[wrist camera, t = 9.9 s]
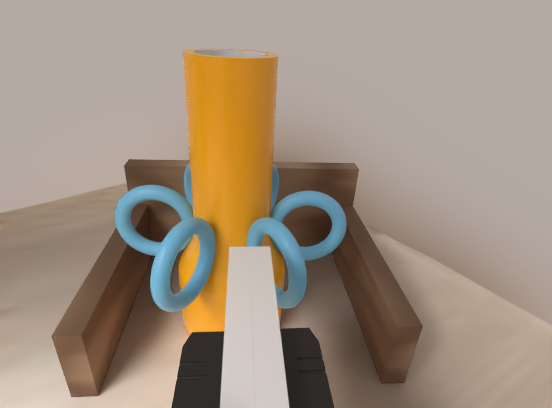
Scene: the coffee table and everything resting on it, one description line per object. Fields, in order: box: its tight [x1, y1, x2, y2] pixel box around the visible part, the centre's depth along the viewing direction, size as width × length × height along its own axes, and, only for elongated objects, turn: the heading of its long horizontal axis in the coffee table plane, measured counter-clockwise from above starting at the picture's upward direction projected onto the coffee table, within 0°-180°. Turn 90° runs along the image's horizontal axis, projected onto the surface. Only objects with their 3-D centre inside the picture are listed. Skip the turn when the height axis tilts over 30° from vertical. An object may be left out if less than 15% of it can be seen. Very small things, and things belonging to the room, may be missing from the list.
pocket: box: [52, 159, 422, 397], centre depth 22 cm, size 16×13×7 cm
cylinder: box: [115, 49, 347, 335], centre depth 19 cm, size 12×10×15 cm
